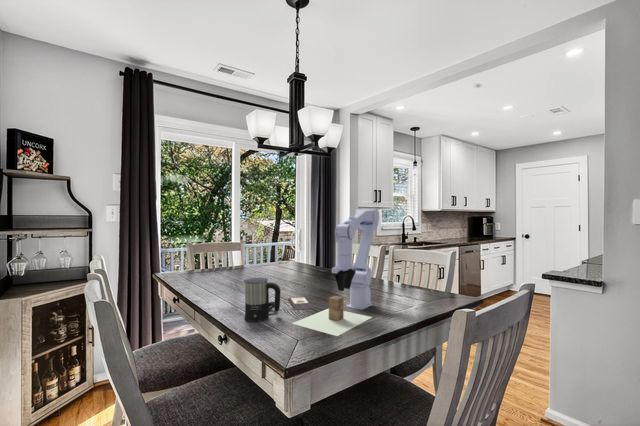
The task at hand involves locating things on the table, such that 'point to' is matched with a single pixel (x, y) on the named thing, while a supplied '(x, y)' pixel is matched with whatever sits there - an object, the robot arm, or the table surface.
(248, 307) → the milk frother
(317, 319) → the sage mat
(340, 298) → the walnut block
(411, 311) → the table surface
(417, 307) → the table surface
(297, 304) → the chocolate bar
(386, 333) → the table surface
